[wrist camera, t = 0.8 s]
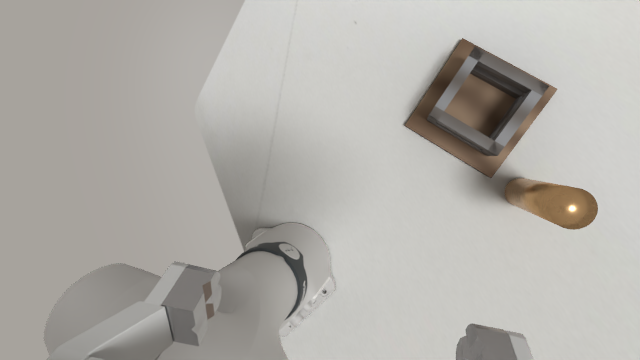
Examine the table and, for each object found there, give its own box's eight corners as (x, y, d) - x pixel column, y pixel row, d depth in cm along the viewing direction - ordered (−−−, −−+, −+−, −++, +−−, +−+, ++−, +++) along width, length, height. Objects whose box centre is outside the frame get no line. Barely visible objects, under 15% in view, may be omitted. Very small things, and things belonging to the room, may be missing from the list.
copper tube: (524, 211, 54) (578, 237, 36) (498, 195, 54) (539, 213, 37) (542, 188, 53) (607, 203, 35) (516, 172, 53) (567, 179, 36)
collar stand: (489, 177, 55) (502, 180, 47) (405, 125, 57) (404, 120, 50) (554, 90, 51) (580, 78, 44) (461, 40, 54) (470, 20, 47)
